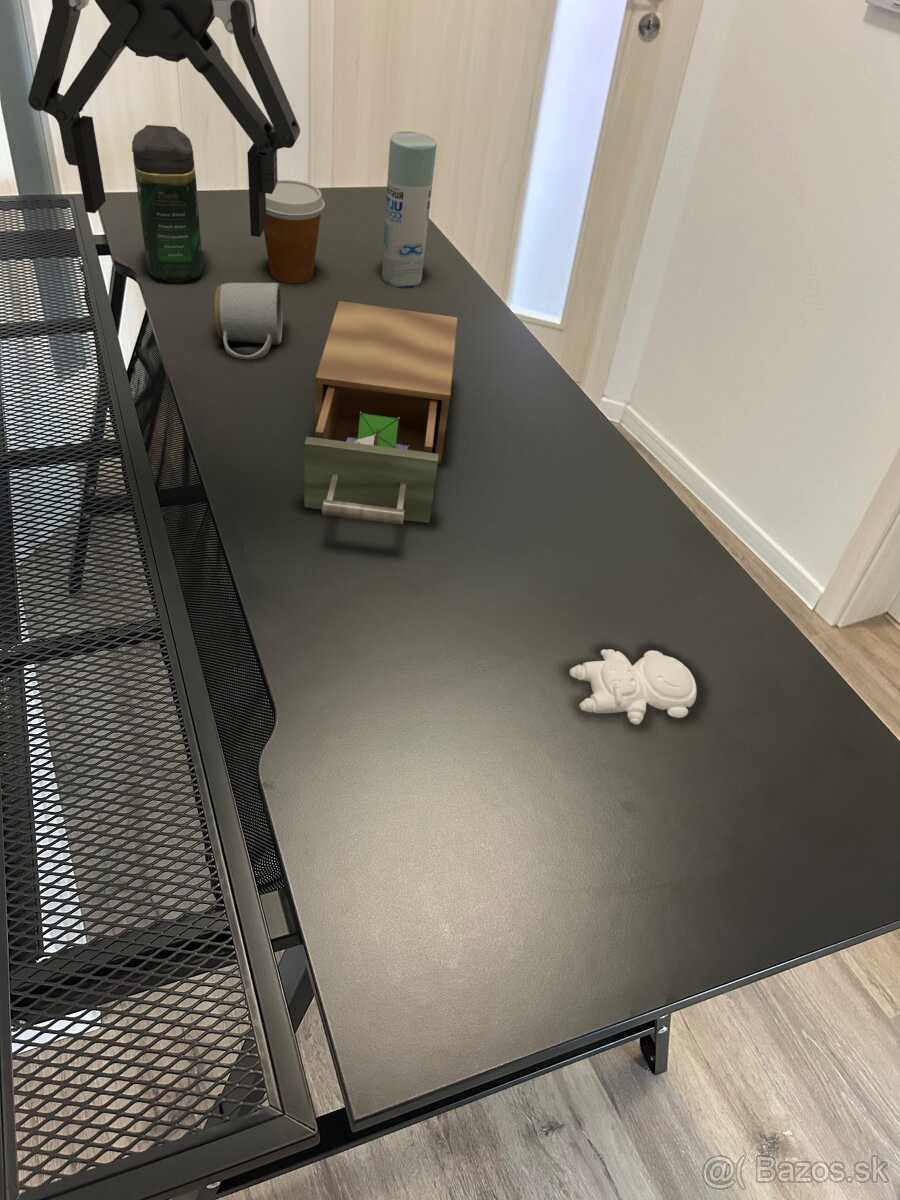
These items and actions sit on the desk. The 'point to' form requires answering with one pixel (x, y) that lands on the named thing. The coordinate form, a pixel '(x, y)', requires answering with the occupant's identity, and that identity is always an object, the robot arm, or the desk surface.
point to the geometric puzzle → (378, 431)
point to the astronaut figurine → (637, 685)
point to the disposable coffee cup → (292, 230)
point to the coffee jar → (168, 202)
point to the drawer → (371, 459)
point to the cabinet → (390, 356)
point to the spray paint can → (407, 207)
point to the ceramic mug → (249, 315)
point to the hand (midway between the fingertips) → (177, 218)
